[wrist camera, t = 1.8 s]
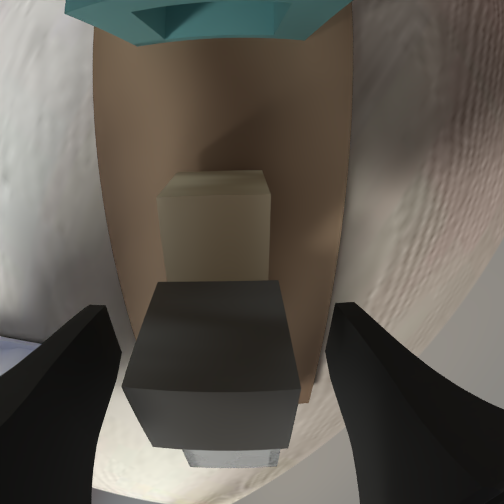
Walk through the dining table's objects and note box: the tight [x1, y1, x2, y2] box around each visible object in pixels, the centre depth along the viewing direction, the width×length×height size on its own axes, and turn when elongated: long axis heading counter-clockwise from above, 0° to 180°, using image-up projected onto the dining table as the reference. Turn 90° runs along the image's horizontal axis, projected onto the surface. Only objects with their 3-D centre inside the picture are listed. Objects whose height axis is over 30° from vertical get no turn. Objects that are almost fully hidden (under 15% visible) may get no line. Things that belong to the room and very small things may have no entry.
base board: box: [93, 1, 353, 404], centre depth 13 cm, size 10×23×1 cm, turn 0°
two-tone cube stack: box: [121, 170, 301, 451], centre depth 11 cm, size 4×14×7 cm, turn 0°
